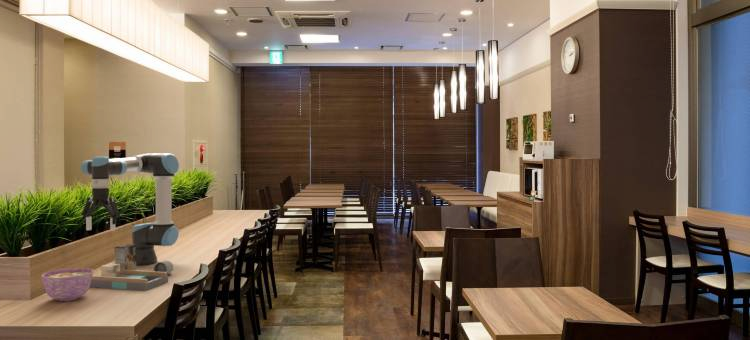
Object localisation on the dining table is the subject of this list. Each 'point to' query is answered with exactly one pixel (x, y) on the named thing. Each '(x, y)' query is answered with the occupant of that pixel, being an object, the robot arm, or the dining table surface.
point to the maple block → (110, 270)
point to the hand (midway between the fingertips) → (100, 230)
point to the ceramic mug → (163, 267)
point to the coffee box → (126, 256)
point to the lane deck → (131, 280)
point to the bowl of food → (67, 283)
